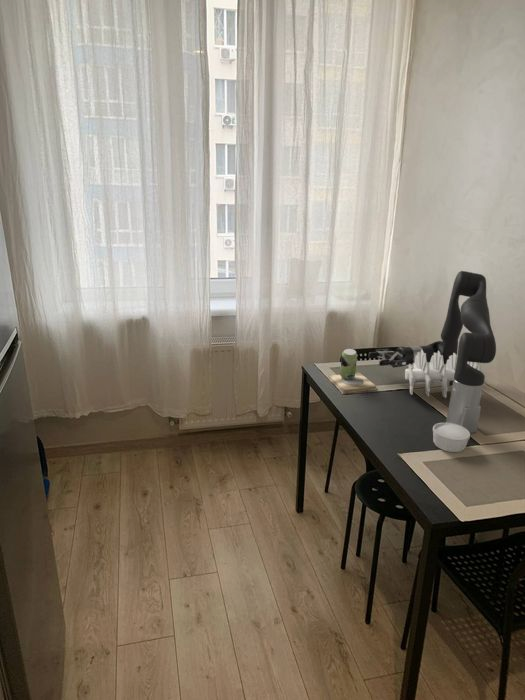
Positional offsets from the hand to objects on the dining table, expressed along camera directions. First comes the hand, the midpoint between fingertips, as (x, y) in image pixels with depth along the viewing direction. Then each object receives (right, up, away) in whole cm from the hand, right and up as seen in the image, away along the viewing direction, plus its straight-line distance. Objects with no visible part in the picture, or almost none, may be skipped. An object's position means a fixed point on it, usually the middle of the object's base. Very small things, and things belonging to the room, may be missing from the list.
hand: (374, 359), depth 203 cm
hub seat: (-9, -10, +1) cm, 13 cm away
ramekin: (+15, -27, -41) cm, 51 cm away
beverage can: (-10, -8, +2) cm, 13 cm away
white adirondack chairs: (+22, -14, -6) cm, 27 cm away
